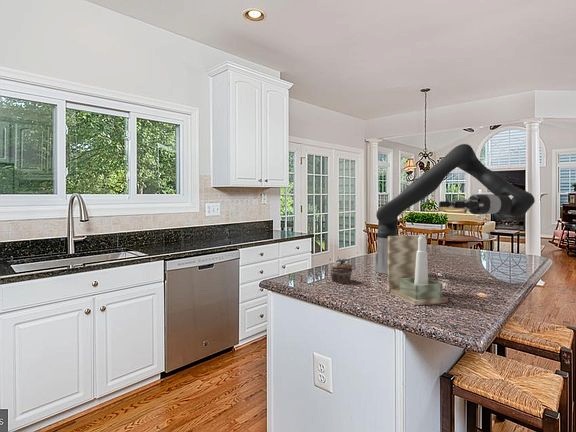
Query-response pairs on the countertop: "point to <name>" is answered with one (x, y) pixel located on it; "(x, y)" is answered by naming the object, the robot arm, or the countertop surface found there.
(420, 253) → the cosmetic bottle
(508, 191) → the robot arm
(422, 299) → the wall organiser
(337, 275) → the cupcake
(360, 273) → the countertop surface
